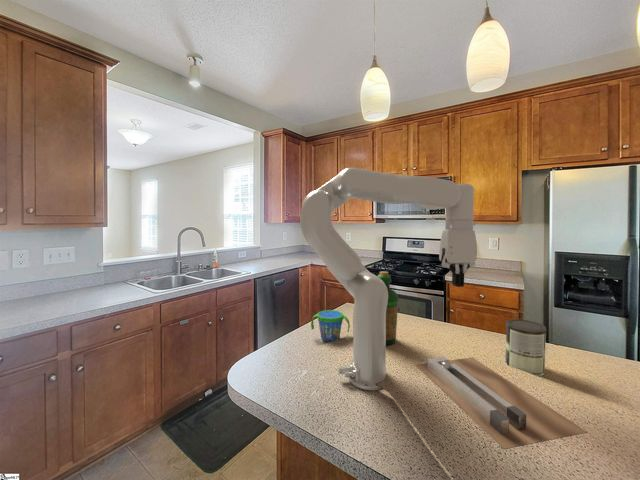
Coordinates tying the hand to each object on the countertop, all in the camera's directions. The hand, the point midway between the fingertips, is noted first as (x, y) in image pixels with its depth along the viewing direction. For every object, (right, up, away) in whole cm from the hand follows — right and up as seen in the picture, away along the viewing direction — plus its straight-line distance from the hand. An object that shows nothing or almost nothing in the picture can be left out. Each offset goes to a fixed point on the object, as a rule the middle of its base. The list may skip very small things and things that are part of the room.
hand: (458, 285), depth 86 cm
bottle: (-18, -26, +22) cm, 38 cm away
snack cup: (-38, -26, +28) cm, 54 cm away
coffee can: (+23, -27, +3) cm, 35 cm away
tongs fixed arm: (-4, -27, -12) cm, 29 cm away
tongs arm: (-2, -26, -13) cm, 30 cm away
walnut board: (+1, -28, -11) cm, 30 cm away
